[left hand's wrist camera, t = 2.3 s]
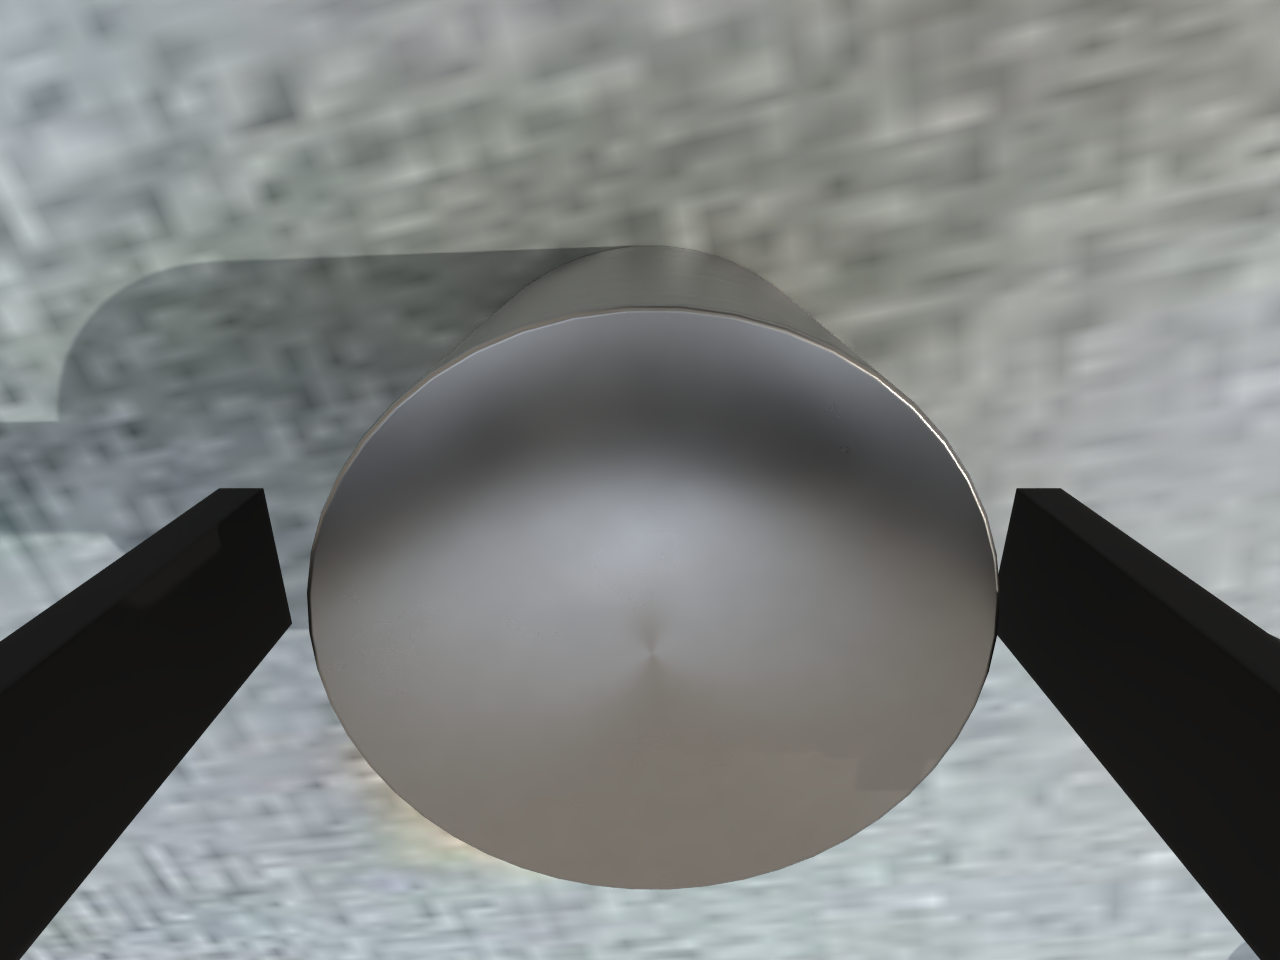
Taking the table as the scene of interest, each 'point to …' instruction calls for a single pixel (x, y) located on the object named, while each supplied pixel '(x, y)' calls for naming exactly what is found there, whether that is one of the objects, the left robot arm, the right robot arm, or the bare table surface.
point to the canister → (653, 581)
